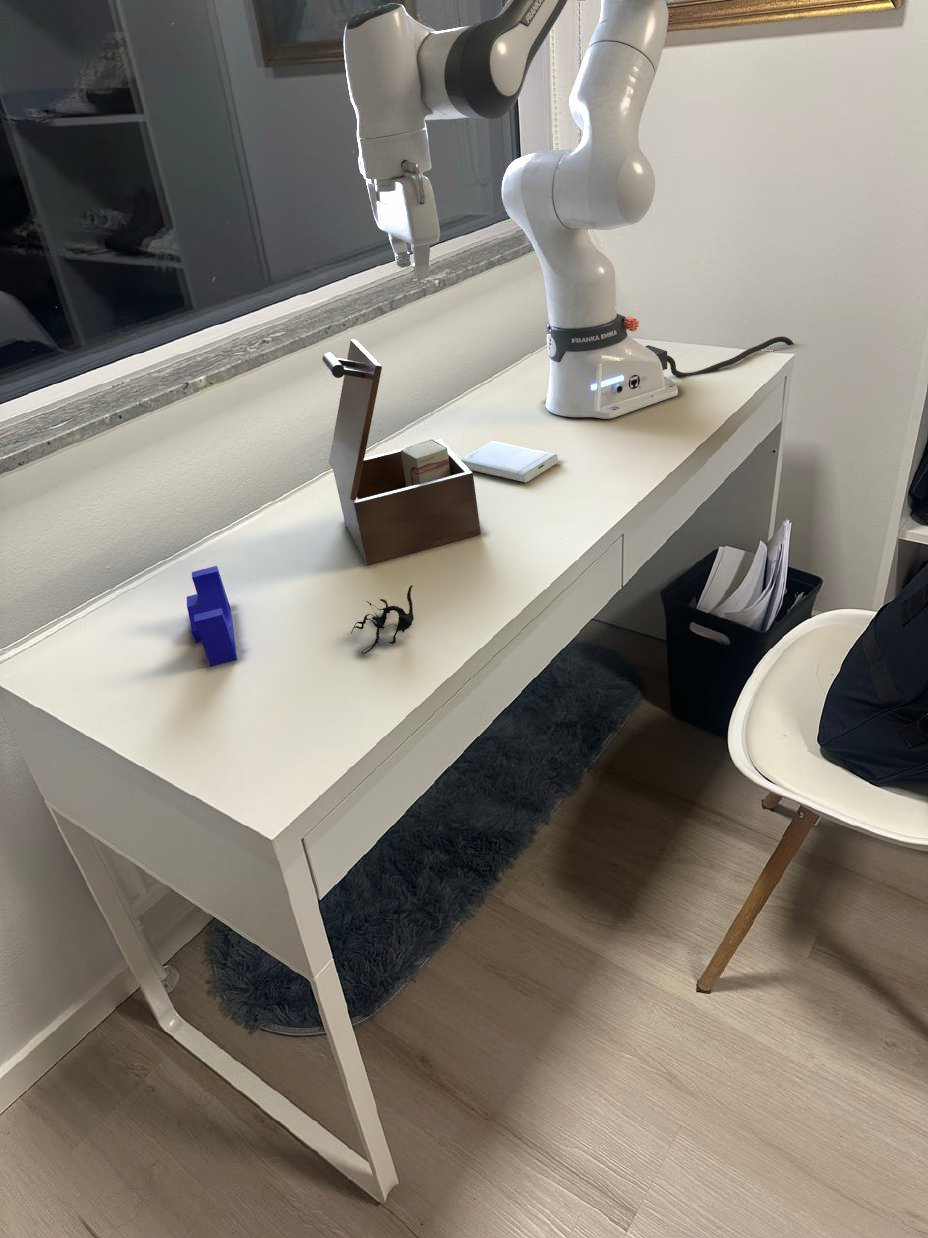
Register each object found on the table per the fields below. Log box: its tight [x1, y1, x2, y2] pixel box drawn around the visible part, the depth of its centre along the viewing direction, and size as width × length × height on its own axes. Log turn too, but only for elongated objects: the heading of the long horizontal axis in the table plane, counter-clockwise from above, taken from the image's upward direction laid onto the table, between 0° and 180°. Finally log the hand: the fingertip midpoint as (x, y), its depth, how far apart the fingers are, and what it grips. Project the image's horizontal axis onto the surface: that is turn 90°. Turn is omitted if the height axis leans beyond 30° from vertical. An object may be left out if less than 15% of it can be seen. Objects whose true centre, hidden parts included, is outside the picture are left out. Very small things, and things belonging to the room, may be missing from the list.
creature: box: [350, 584, 415, 655], centre depth 98 cm, size 8×5×8 cm
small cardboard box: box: [400, 439, 451, 487], centre depth 118 cm, size 5×4×10 cm
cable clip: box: [186, 565, 238, 667], centre depth 102 cm, size 12×4×6 cm, turn 16°
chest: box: [332, 439, 482, 566], centre depth 118 cm, size 16×14×9 cm
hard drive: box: [460, 440, 559, 483], centre depth 134 cm, size 2×8×12 cm
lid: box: [321, 339, 383, 500], centre depth 110 cm, size 16×14×5 cm
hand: (413, 271), depth 121 cm, fingers open, 8 cm apart
